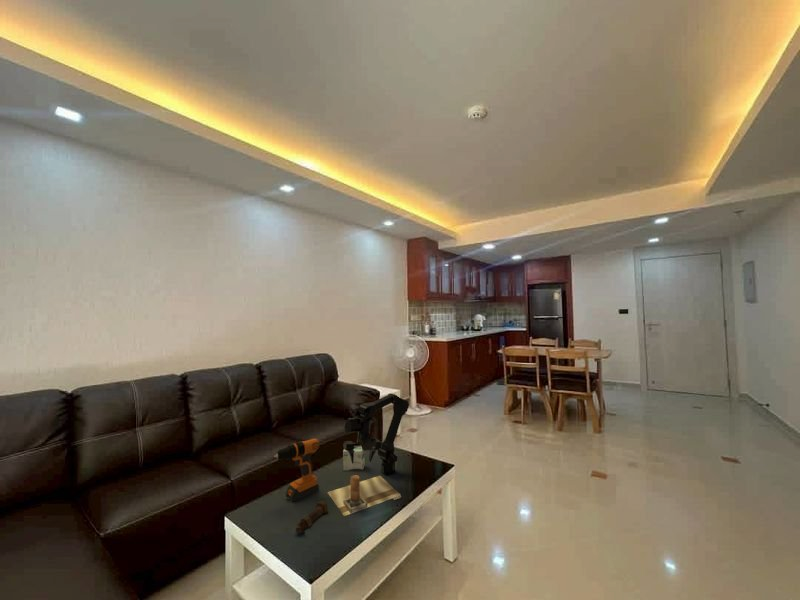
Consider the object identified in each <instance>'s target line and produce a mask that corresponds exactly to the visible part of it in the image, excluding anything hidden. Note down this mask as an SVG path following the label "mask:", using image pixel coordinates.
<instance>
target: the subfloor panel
mask: <svg viewBox="0 0 800 600" xmlns="http://www.w3.org/2000/svg"><path fill="white" fill-rule="evenodd" d="M327 494H328V495H329V497H330V498H331V500H332V501H333V503H334V504H335V506H336V507H337V508H338V509H339V511H340V512H341V514H342V515H343V517H345V516H348V515H351V514H354V513H357V512H359V511H363V510H366V509H367V508H370V507H373V506H376V505H378V504H382V503H383V502H387V501H390V500H392V499H393V500H394V501H396V500H398V499H401V498H402V495H401V493H400V492H399V491H397V490H396V489H395V488H394V487H393V486H392V485H390V483H389V482H387V480H386V479H384V478H383V477H382V476H381V475H377V476H374V477H371V478H368V479H366V480H365V479H364V480H361V481H360V505H358V506H355V507H351V506H350V499H351V486H350V484H349V485H346V486H343V487H340V488H337V489H334V490H331V491H328V492H327Z"/></svg>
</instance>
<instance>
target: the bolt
mask: <svg viewBox="0 0 800 600" xmlns="http://www.w3.org/2000/svg"><path fill="white" fill-rule="evenodd" d="M328 511H329V508H328V505H327V503H325V501H322V500H321V501H319V502H317V504H316V506H315V509H314V510H313V511H312V512H311V513H309V514H308V515H304V516H302V517H301V519H300V522H298V524H296V526H295V532H296V533H298V534H301V533H303V532H304V531H305V529H307V528H310V527H311V526H312V525H313V524H312V523H314V522H315V521H316V520H317V519H318V518H319V517H320V516H322V515H323V514H326V513H327V512H328Z"/></svg>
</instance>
